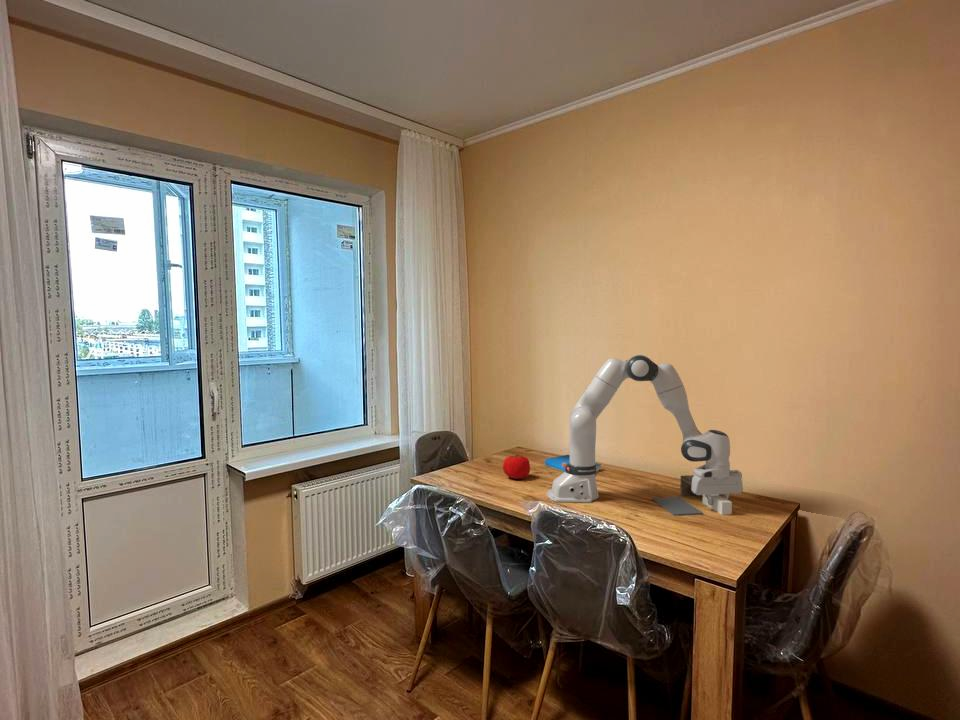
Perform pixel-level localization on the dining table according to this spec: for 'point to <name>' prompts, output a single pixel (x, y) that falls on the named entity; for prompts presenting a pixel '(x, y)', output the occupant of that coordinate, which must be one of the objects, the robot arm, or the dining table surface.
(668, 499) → the mat
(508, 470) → the tomato
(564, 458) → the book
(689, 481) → the brown box
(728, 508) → the block
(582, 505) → the dining table surface
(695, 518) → the dining table surface
